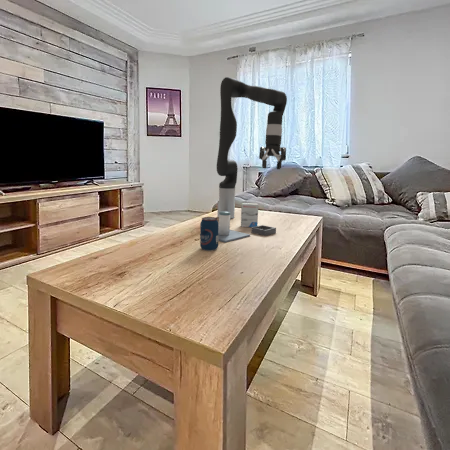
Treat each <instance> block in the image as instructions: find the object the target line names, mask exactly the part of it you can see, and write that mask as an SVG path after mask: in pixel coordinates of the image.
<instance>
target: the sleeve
mask: <svg viewBox="0 0 450 450" xmlns="http://www.w3.org/2000/svg"><path fill="white" fill-rule="evenodd" d="M251 233H252V234H257V235H260V236H265V237H266V236H270V235H273V234H276V233H277V227H274V226H269V225H264V224H262V225H261V224H260V225H257V226H256V227H251Z"/></svg>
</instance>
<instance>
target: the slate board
mask: <svg viewBox="0 0 450 450" xmlns="http://www.w3.org/2000/svg"><path fill="white" fill-rule="evenodd" d="M249 237H251V234H249V233H247V232H246V233H245V232H241V231H237V230H233V229H230V232H229V235H226V236H223V235H219V234H218V242H221V243H229V242H233V241H237V240H241V239H245V238H249Z"/></svg>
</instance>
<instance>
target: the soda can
mask: <svg viewBox="0 0 450 450" xmlns="http://www.w3.org/2000/svg"><path fill="white" fill-rule="evenodd" d="M199 223H200V225H199V226H200V233H199V237H200V238H199V246H200V248H201V250H203V251H206V252H212V251H216V250H217V249H218V247H219V241H218V229H219V220H218V218H217V217H215V216H214V217H213V216H205V217H201V220H200V222H199Z"/></svg>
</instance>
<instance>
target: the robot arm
mask: <svg viewBox="0 0 450 450" xmlns="http://www.w3.org/2000/svg"><path fill="white" fill-rule="evenodd" d="M220 83H221V84H220V90H219V91H220V96H219V97H220V121H219V123H220V124H219V140H218V141H219V143H218V144H219V145H218V152H217V158H216V172H217V175H218V176H220V177H225V178H224V179H223V180H222V181H221V182H219V184H218V200H217V217H218V218H219V212H220V211H227V212H230V219H234V218H235V204H236V202H235V201H236V184H237V180H238V164H237V161H236V160H234V159H228V156H229V152H230V149H231V147H232V145H233V143H234V141H235V139H236V137H237V130H238V122H237V119H236V115H235V113H234V110H233V107H232V98H234V99H235V98H246V99H249V100H251V101H252V102H257V103H261V104H265V105H268V106H271V107H272V106H273V108H272V109H273V110H272V111H270V112H268V113H267V121H266V130H265V143H264V144H265V146H260V147H259V155H258V158H259V160H261V161H262V162H261V167H262V169H267V166H268V165H267V162H268V161H267V160H268V159H269V158H270V157H274V158H275V159H276V160H277V161H276V170H281V169H282V162H283V161H286V159H287V147H285V146H284V147H283V146H281V144H282V134H283V116H284V114H285V109H286V106H287V103H288V97H287V94H286V92H285V91H282V90H277V89H273V88H266V87H264V86H259V85H251V84H246V83H244V82H243V81H241V80H238V79H237V78H232V77H226V76H225V77H223V79H222V80H221V82H220ZM217 217H216V218H217Z"/></svg>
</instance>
